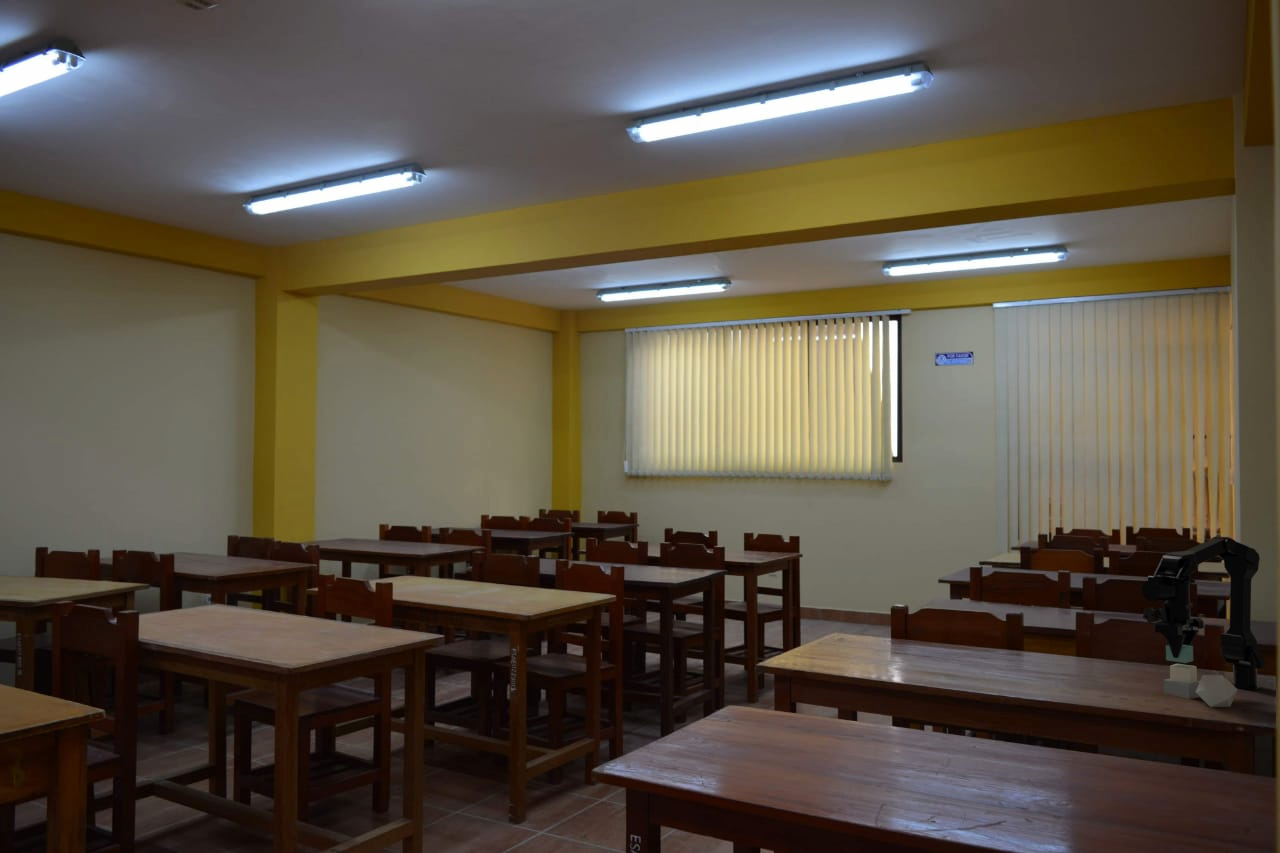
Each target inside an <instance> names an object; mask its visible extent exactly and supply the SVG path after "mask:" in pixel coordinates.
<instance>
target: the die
mask: <svg viewBox="0 0 1280 853" xmlns="http://www.w3.org/2000/svg"><path fill="white" fill-rule="evenodd" d="M1199 681H1200V683H1199V685H1198V687H1197V690H1196V693H1197V694H1198V695H1199V696H1200V697H1199V698H1201V699H1202V701H1203V702H1205V703H1206V705H1208V706H1209V707H1210V708H1231V706H1232V705H1233V704H1232V703H1233V702H1234V699H1235V697H1236V694H1237V692H1238V689H1239V688H1237V687H1234V686H1233V685H1232V682H1230V681H1229V680H1228V679H1227V678H1226V677H1224V676H1223V675H1222V674H1203V675H1202V676H1201V678H1200V680H1199Z"/></svg>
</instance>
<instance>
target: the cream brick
mask: <svg viewBox="0 0 1280 853" xmlns="http://www.w3.org/2000/svg"><path fill="white" fill-rule="evenodd" d="M1197 670H1198V669H1197V665H1196V666H1195V665H1189V664H1188V665H1187V664H1183V663H1182V664H1181V663H1175V664H1172V665H1169V679H1170V681H1175V682H1181V683H1188V684H1191V683H1194V682H1196V681H1198V676H1197V675H1198V674H1197V673H1198V672H1197Z"/></svg>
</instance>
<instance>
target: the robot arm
mask: <svg viewBox="0 0 1280 853" xmlns="http://www.w3.org/2000/svg"><path fill="white" fill-rule="evenodd" d="M1217 556H1218V557H1219V558H1220V559H1222V560H1223V565H1224V566H1223V567H1224V568H1225V571H1226V572H1227V574H1228V575H1229V577H1230V578H1229V579H1230V583H1229V584H1230V585H1229V586H1230V590H1229V592H1230V594H1229V627H1228V629H1227V630H1226V632H1225V633H1221V634H1220V645H1219V648H1221V653H1222V656H1223V658H1224V662H1225V664H1232V671H1233V672H1232V673H1233V674H1232V675H1233V676H1232V677H1233V679H1232V680H1233V682H1231V684H1232V685H1233V686H1234V687H1235V688H1237V689H1239V688H1240V689H1244V690H1251V691H1257V690H1259V689H1261V688H1263V685H1261V684H1258V669H1259V670H1260V669H1264V668H1265V667H1266V663H1267V659H1266V658H1265V657H1264V656H1263V654H1262V653H1261V652H1260V651H1259V649H1258V642H1257V639H1256V637H1255V636H1254V634H1253V632H1252V630H1251V619H1252V618H1251V616H1252V615H1251V612H1252V611H1251V610H1252V609H1251V608H1252V606H1251V605H1252V579H1253V578H1254V576H1255V575H1256V573H1257V572H1258V570H1259V566H1260V565H1259V564H1260V559H1261V558H1260V553H1259V552H1257V550H1256V549H1255V548H1253V547H1250V546H1248V545H1246V544H1243V543H1241V542H1238V541H1236V540H1235V539H1234V538H1231V537H1229V536H1220V535H1219V536H1218V535H1217V536H1216V535H1215V536H1214V537H1211V539H1209V540H1206V541H1204V542H1201V543H1200V544H1198V545H1195V546H1193V547H1190V548H1188V549H1187V550H1184V551H1183V550H1182V551H1172V552H1168V553H1165V554H1163V555H1162V556H1161V560H1160V561H1159V564H1158V565H1157V567H1156V569H1155V571H1154V573H1153V575H1148V576H1147V580H1146V581H1144V583H1143V584H1142V587H1141V594H1142V596H1143V597H1144V598H1145V600H1147V601H1150V602H1162V601H1166V602H1163V603H1162V608H1157V609H1154V608H1153V607H1145V608H1143V612H1142V614H1143V615H1142V618H1143V619H1144V620H1145V621H1146V623H1147V624H1153V623H1154V624H1153V625H1152V626H1153V633H1158V634H1160V635H1162V636H1163V637H1164V638H1165V639H1166V641H1167V643H1168V645H1169V646H1170V649H1171V652H1172V655H1173V657H1174V658H1178V657H1179V654H1180V651H1181V648H1182V645H1189V646H1192V644H1193V642H1194V640H1195V638H1196V636H1197V634H1198V633H1199V632H1200V630H1202V629H1204V620H1203V619H1202V618H1201V617H1197V616H1191V609H1192V608H1194V603H1191V594H1190V592H1191V588H1190V586H1191V585H1190V584H1195V583H1196V580H1195V579H1194V578H1193V577H1191V574H1192V575H1193V573H1194V572H1196V571H1197V570H1198V567H1199V565H1201V564H1202V563H1205V562H1206V561H1209V560H1211V559H1213V558H1216V557H1217ZM1194 628H1197V629H1194ZM1199 629H1200V630H1199Z"/></svg>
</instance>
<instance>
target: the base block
mask: <svg viewBox="0 0 1280 853" xmlns="http://www.w3.org/2000/svg"><path fill="white" fill-rule="evenodd" d="M1200 681H1201V680H1197V681H1196V682H1194V683H1191V684H1188V683H1181V682H1175V681H1170V678H1166V679H1163V693H1164V694H1165V695H1169V694H1170V695H1169V696H1174V697H1178V698H1179V697H1180V698H1182V699H1183V698H1184V699H1188V700H1190V699H1197V698H1201V697H1200V696H1199V695H1198V694H1197V693H1196V690H1197V687H1198V685H1199V683H1200Z"/></svg>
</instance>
